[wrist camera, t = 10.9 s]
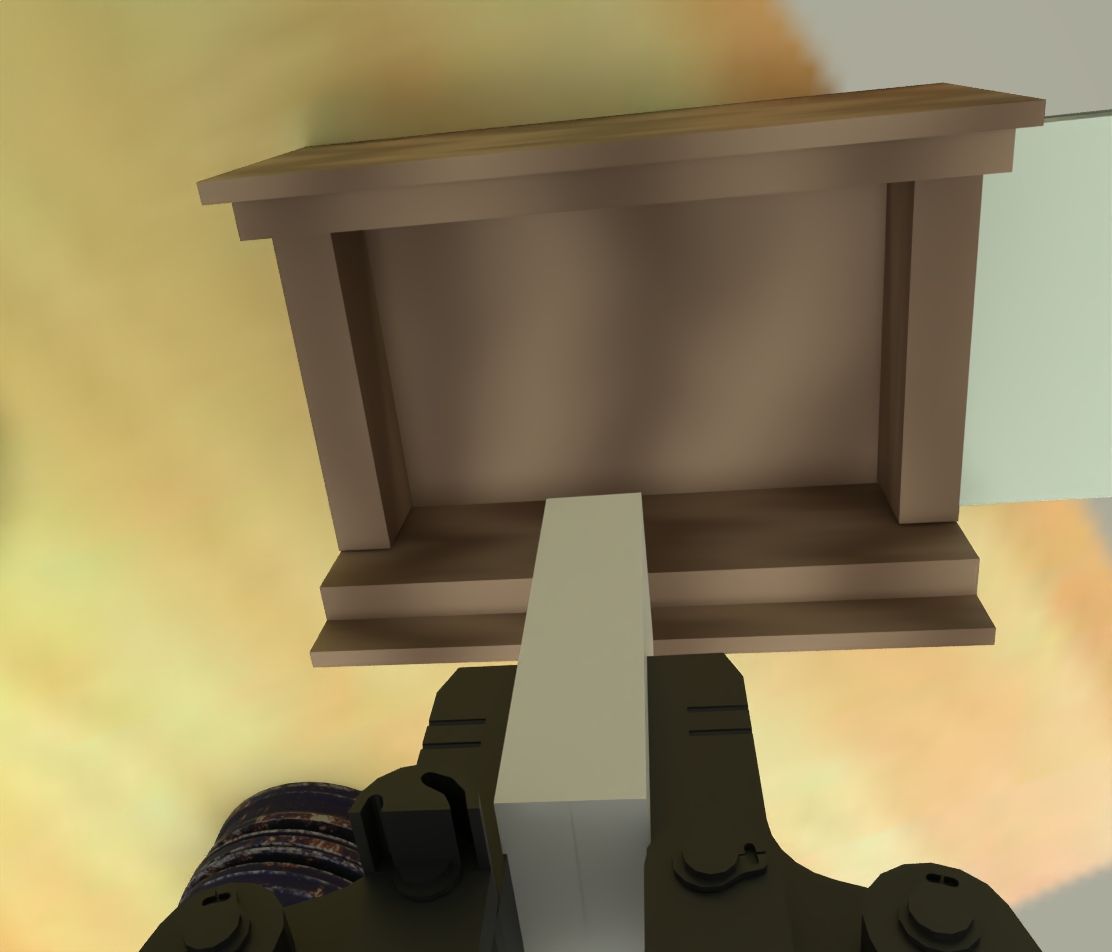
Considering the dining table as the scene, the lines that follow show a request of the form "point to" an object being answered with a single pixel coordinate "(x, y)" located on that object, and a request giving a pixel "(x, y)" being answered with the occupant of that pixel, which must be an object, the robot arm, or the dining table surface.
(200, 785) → the dining table surface
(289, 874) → the dark blue barrel
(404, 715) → the dining table surface
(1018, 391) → the lid
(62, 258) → the dining table surface
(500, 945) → the robot arm
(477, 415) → the box
